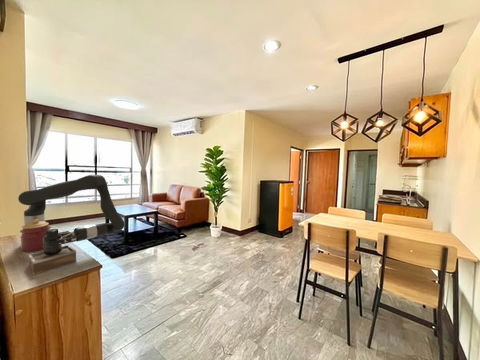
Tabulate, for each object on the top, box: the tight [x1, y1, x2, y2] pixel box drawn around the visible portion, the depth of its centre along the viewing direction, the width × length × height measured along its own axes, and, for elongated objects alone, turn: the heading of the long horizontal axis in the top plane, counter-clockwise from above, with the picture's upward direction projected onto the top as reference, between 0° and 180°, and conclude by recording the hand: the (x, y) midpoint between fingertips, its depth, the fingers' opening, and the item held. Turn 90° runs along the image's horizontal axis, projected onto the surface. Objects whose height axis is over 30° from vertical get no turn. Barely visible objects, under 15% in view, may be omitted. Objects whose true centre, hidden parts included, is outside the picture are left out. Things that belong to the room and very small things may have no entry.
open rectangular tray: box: [27, 244, 77, 275], centre depth 104 cm, size 12×16×6 cm
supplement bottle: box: [43, 228, 63, 255], centre depth 103 cm, size 7×7×12 cm
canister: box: [19, 219, 52, 253], centre depth 121 cm, size 13×13×18 cm
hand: (46, 241), depth 101 cm, fingers closed on supplement bottle, 7 cm apart
